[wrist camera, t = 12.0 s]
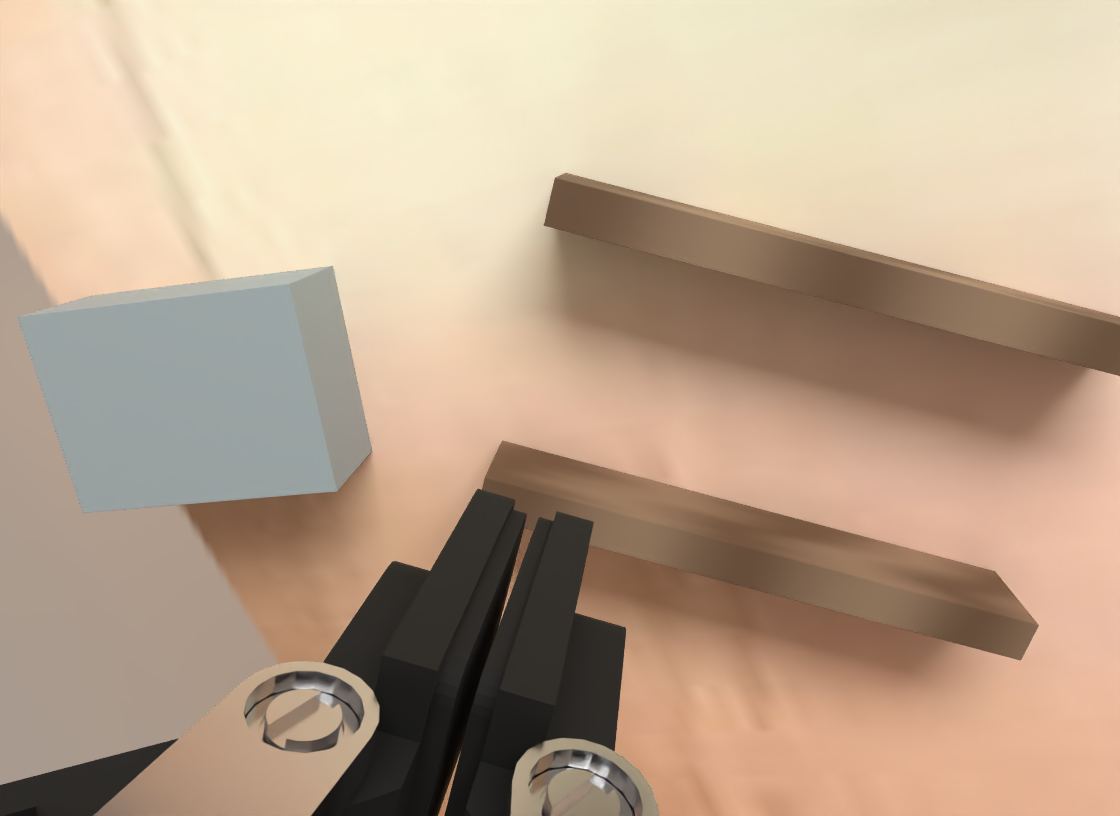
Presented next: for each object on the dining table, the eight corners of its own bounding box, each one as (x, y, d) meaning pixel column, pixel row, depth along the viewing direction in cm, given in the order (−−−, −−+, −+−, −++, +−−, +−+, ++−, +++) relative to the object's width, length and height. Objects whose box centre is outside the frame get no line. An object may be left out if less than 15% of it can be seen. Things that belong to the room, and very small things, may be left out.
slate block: (336, 264, 25) (289, 283, 22) (374, 447, 27) (337, 491, 24) (96, 294, 26) (17, 316, 23) (149, 468, 28) (83, 513, 25)
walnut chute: (1118, 316, 23) (1184, 341, 20) (980, 603, 26) (1020, 660, 23) (566, 173, 23) (555, 177, 20) (494, 474, 26) (476, 514, 24)
